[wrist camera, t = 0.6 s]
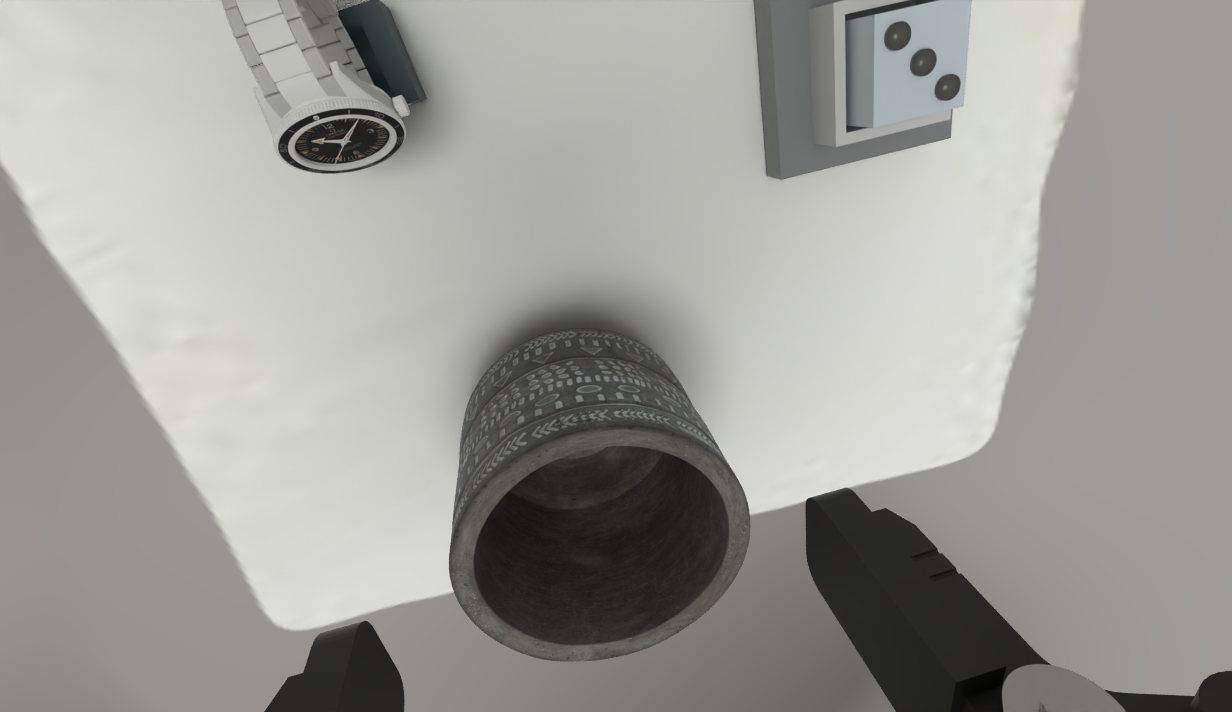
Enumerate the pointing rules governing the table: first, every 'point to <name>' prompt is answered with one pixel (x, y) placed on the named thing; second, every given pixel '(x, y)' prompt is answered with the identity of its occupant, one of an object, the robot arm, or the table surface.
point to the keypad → (822, 89)
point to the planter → (590, 501)
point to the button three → (906, 62)
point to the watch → (327, 79)
